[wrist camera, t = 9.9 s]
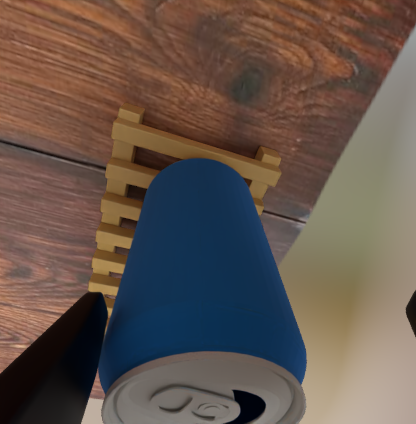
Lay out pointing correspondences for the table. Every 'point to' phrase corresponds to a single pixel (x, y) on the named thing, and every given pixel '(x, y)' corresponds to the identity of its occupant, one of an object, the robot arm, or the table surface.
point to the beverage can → (201, 311)
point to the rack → (142, 177)
